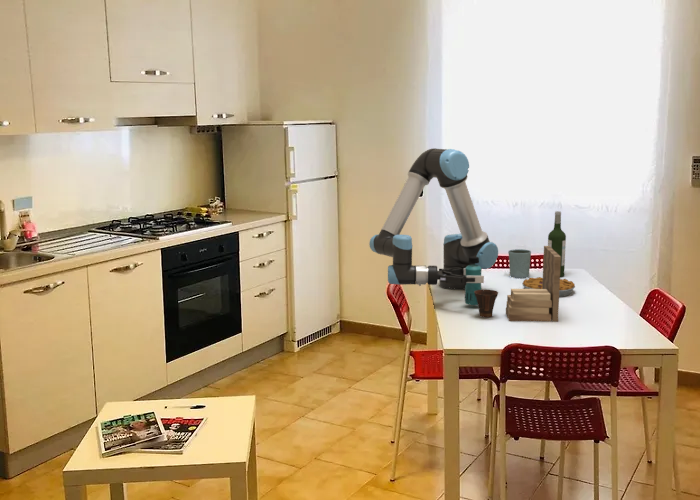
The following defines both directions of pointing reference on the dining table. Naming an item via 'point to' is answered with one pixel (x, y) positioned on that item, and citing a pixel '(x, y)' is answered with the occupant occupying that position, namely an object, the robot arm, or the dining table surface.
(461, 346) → the dining table surface
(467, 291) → the beverage bottle
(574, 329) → the dining table surface
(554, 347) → the dining table surface
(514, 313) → the offcut rack
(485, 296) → the cup
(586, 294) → the dining table surface
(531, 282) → the pie
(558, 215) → the wine bottle
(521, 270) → the grey plastic cylinder
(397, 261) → the robot arm
